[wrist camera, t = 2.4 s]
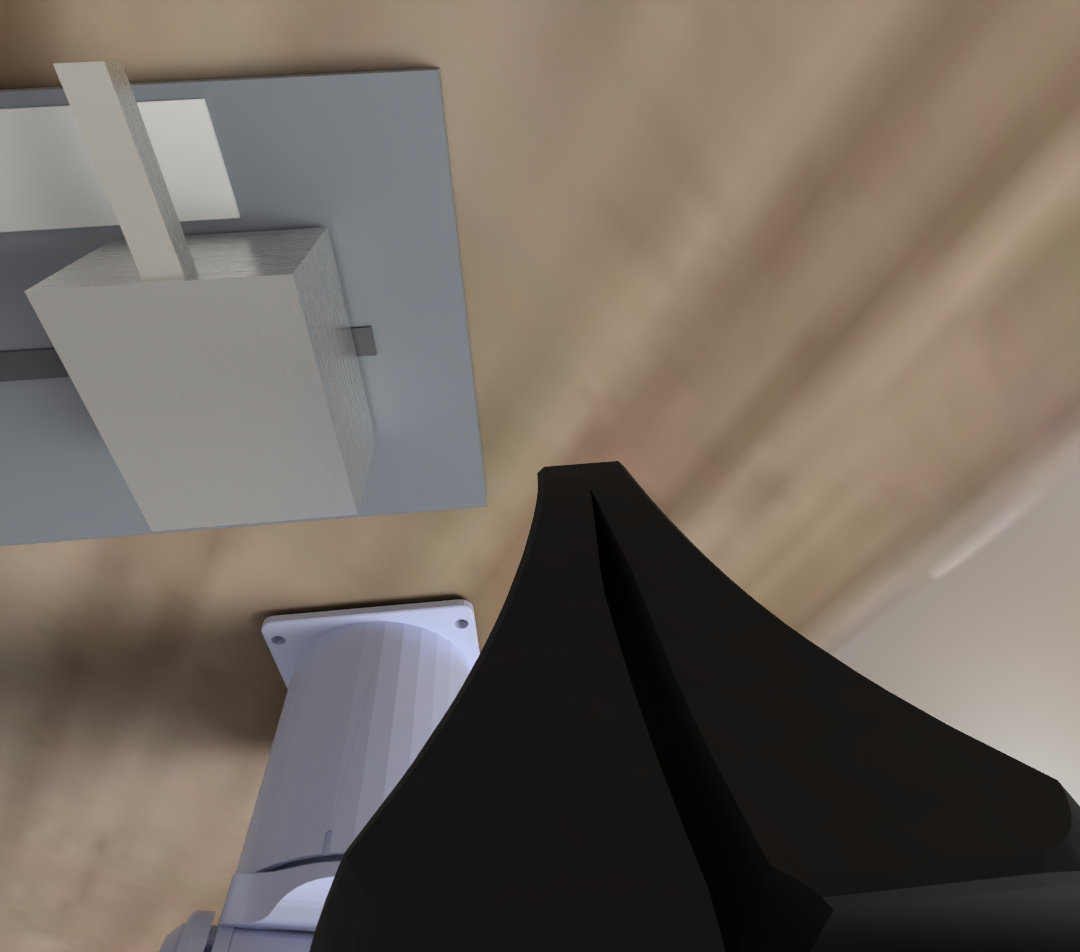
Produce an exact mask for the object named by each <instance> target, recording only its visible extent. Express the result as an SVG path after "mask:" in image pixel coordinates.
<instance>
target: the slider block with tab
mask: <svg viewBox="0 0 1080 952" xmlns="http://www.w3.org/2000/svg"><path fill="white" fill-rule="evenodd" d="M53 65H54V68H55V70H56V73H57V75H58V77H59V80H60V82H61V85H62V87H63V90H64V92H65V94H66V97H67V99H68V102H69V104H70V106H71V109H72V111H73V114H74V116H75V119H76V121H77V123H78V126H79V128H80V131H81V133H82V135H83V138H84V140H85V143H86V145H87V147H88V150H89V152H90V155H91V157H92V160H93V162H94V164H95V167H96V169H97V172H98V174H99V176H100V179H101V181H102V184H103V186H104V188H105V191H106V193H107V196H108V198H109V201H110V203H111V205H112V208H113V210H114V213H115V215H116V217H117V220H118V222H119V225H120V227H121V229H122V232H123V234H124V237H125V239H120V240H111V241H109V242H107V243H106V244H104V245H102V246H101V247H99V248H97V249H96V250H94V251H92V252H90V253H89V254H87V255H85V256H84V257H82V258H80V259H78V260H77V261H75V262H73V263H72V264H70V265H68V266H67V267H65V268H63V269H61V270H60V271H58V272H56V273H55V274H53V275H51V276H49V277H48V278H46V279H44V280H43V281H41V282H39V283H38V284H36V285H34V286H32V287H31V288H29V289H27V290H26V291H24V292H25V293H26V295H27V297H28V299H29V301H30V303H31V305H32V307H33V309H34V310H35V312H36V314H37V316H38V318H39V320H40V322H41V324H42V325H43V327H44V329H45V331H46V333H47V335H48V337H49V339H50V340H51V342H52V344H53V346H54V348H55V350H56V352H57V354H58V355H59V357H60V359H61V361H62V363H63V365H64V367H65V369H66V371H67V372H68V374H69V376H70V378H71V380H72V382H73V384H74V386H75V387H76V389H77V391H78V393H79V395H80V397H81V399H82V401H83V402H84V404H85V406H86V408H87V410H88V412H89V414H90V416H91V418H92V419H93V421H94V423H95V425H96V427H97V429H98V431H99V433H100V434H101V436H102V438H103V440H104V442H105V444H106V446H107V448H108V449H109V451H110V453H111V455H112V457H113V459H114V461H115V463H116V465H117V466H118V468H119V470H120V472H121V474H122V476H123V478H124V480H125V481H126V483H127V485H128V487H129V489H130V491H131V493H132V495H133V496H134V498H135V500H136V502H137V504H138V506H139V508H140V510H141V512H142V513H143V515H144V517H145V519H146V521H147V523H148V525H149V527H150V528H151V530H152V531H164V530H177V529H189V528H201V527H213V526H226V525H238V524H250V523H262V522H275V521H287V520H299V519H311V518H324V517H336V516H348V515H358V511H359V507H360V503H361V499H362V495H363V491H364V487H365V483H366V478H367V474H368V470H369V466H370V462H371V458H372V454H373V450H374V445H375V441H376V438H375V433H374V429H373V424H372V420H371V416H370V411H369V407H368V403H367V398H366V394H365V389H364V385H363V381H362V376H361V372H360V367H359V363H358V359H357V354H356V350H355V346H354V341H353V337H352V332H351V328H350V324H349V319H348V315H347V310H346V306H345V302H344V297H343V293H342V289H341V284H340V280H339V275H338V271H337V267H336V262H335V258H334V254H333V249H332V245H331V240H330V236H329V232H328V227H317V228H300V229H284V230H268V231H251V232H235V233H218V234H202V235H186V236H184V233H183V230H182V227H181V224H180V222H179V219H178V216H177V213H176V211H175V208H174V205H173V202H172V199H171V197H170V194H169V191H168V188H167V186H166V183H165V180H164V177H163V174H162V172H161V169H160V166H159V163H158V161H157V158H156V155H155V152H154V149H153V147H152V144H151V141H150V138H149V135H148V133H147V130H146V127H145V124H144V122H143V119H142V116H141V113H140V110H139V108H138V105H137V102H136V99H135V97H134V94H133V91H132V88H131V85H130V83H129V80H128V77H127V74H126V72H125V69H124V66H123V63H122V60H102V61H81V62H66V63H55V64H53Z"/></svg>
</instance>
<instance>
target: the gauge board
mask: <svg viewBox="0 0 1080 952" xmlns="http://www.w3.org/2000/svg"><path fill="white" fill-rule="evenodd" d="M130 85H131V88H132V91H133V94H134V97H135V99H136V102H137V105H138V108H139V110H140V113H141V116H142V119H143V122H144V124H145V127H146V130H147V133H148V135H149V138H150V141H151V144H152V147H153V149H154V152H155V155H156V158H157V161H158V163H159V166H160V169H161V172H162V174H163V177H164V180H165V183H166V186H167V188H168V191H169V194H170V197H171V199H172V202H173V205H174V208H175V211H176V213H177V216H178V219H179V222H180V224H181V227H182V230H183V233H184V236H186V235H202V234H218V233H235V232H251V231H268V230H284V229H300V228H317V227H328V232H329V236H330V240H331V245H332V249H333V254H334V258H335V262H336V267H337V271H338V275H339V280H340V284H341V289H342V293H343V297H344V302H345V306H346V310H347V315H348V319H349V324H350V328H351V332H352V337H353V341H354V346H355V350H356V354H357V359H358V363H359V367H360V372H361V376H362V381H363V385H364V389H365V394H366V398H367V403H368V407H369V411H370V416H371V420H372V424H373V429H374V433H375V438H376V441H375V445H374V450H373V454H372V458H371V462H370V466H369V470H368V474H367V478H366V483H365V487H364V491H363V495H362V499H361V503H360V507H359V511H358V515H348V516H336V517H324V518H311V519H299V520H287V521H275V522H262V523H250V524H238V525H226V526H213V527H201V528H189V529H177V530H164V531H152V530H151V528H150V527H149V525H148V523H147V521H146V519H145V517H144V515H143V513H142V512H141V510H140V508H139V506H138V504H137V502H136V500H135V498H134V496H133V495H132V493H131V491H130V489H129V487H128V485H127V483H126V481H125V480H124V478H123V476H122V474H121V472H120V470H119V468H118V466H117V465H116V463H115V461H114V459H113V457H112V455H111V453H110V451H109V449H108V448H107V446H106V444H105V442H104V440H103V438H102V436H101V434H100V433H99V431H98V429H97V427H96V425H95V423H94V421H93V419H92V418H91V416H90V414H89V412H88V410H87V408H86V406H85V404H84V402H83V401H82V399H81V397H80V395H79V393H78V391H77V389H76V387H75V386H74V384H73V382H72V380H71V378H70V376H69V374H68V372H67V371H66V369H65V367H64V365H63V363H62V361H61V359H60V357H59V355H58V354H57V352H56V350H55V348H54V346H53V344H52V342H51V340H50V339H49V337H48V335H47V333H46V331H45V329H44V327H43V325H42V324H41V322H40V320H39V318H38V316H37V314H36V312H35V310H34V309H33V307H32V305H31V303H30V301H29V299H28V297H27V295H26V293H25V292H24V291H26V290H27V289H29V288H31V287H32V286H34V285H36V284H38V283H39V282H41V281H43V280H44V279H46V278H48V277H49V276H51V275H53V274H55V273H56V272H58V271H60V270H61V269H63V268H65V267H67V266H68V265H70V264H72V263H73V262H75V261H77V260H78V259H80V258H82V257H84V256H85V255H87V254H89V253H90V252H92V251H94V250H96V249H97V248H99V247H101V246H102V245H104V244H106V243H107V242H109V241H111V240H120V239H125V237H124V234H123V232H122V229H121V227H120V225H119V222H118V220H117V217H116V215H115V213H114V210H113V208H112V205H111V203H110V201H109V198H108V196H107V193H106V191H105V188H104V186H103V184H102V181H101V179H100V176H99V174H98V172H97V169H96V167H95V164H94V162H93V160H92V157H91V155H90V152H89V150H88V147H87V145H86V143H85V140H84V138H83V135H82V133H81V131H80V128H79V126H78V123H77V121H76V119H75V116H74V114H73V111H72V109H71V106H70V104H69V102H68V99H67V97H66V94H65V92H64V90H63V87H62V86H60V87H40V88H20V89H0V546H9V545H22V544H34V543H46V542H58V541H71V540H83V539H95V538H107V537H120V536H132V535H144V534H156V533H169V532H181V531H193V530H205V529H218V528H230V527H242V526H254V525H267V524H279V523H291V522H303V521H316V520H328V519H340V518H352V517H365V516H377V515H389V514H401V513H413V512H426V511H438V510H450V509H462V508H475V507H487V494H486V480H485V471H484V462H483V454H482V445H481V436H480V427H479V418H478V409H477V400H476V391H475V382H474V373H473V364H472V355H471V346H470V337H469V328H468V319H467V310H466V301H465V292H464V283H463V274H462V265H461V256H460V247H459V238H458V229H457V220H456V211H455V202H454V193H453V184H452V175H451V166H450V157H449V148H448V139H447V130H446V121H445V112H444V103H443V94H442V85H441V76H440V67H438V68H418V69H398V70H378V71H358V72H338V73H318V74H299V75H279V76H259V77H239V78H219V79H199V80H179V81H159V82H139V83H130Z"/></svg>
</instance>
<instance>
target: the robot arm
mask: <svg viewBox="0 0 1080 952" xmlns="http://www.w3.org/2000/svg"><path fill="white" fill-rule="evenodd" d="M537 474H538V495H537V502H536V507H535V512H534V517H533V522H532V525H531V529H530V532H529V536H528V539H527V543H526V546H525V550H524V553H523V556H522V559H521V562H520V564H519V567H518V570H517V572H516V575H515V578H514V580H513V583H512V586H511V588H510V591H509V594H508V596H507V598H506V601H505V603H504V605H503V608H502V610H501V612H500V614H499V617H498V619H497V621H496V623H495V625H494V627H493V629H492V631H491V633H490V635H489V637H488V639H487V641H486V643H485V645H484V647H483V649H482V651H481V653H480V650H479V643H478V636H477V629H476V622H475V616H474V609H473V606H472V604H471V603H470V602H469V601H466V600H461V599H458V600H447V601H435V602H424V603H413V604H401V605H390V606H378V607H367V608H356V609H344V610H333V611H322V612H310V613H299V614H288V615H276V616H270V617H268V618H266V619H265V620H264V622H263V625H262V627H261V631H262V634H263V636H264V638H265V641H266V643H267V645H268V647H269V649H270V652H271V654H272V656H273V658H274V660H275V663H276V665H277V667H278V669H279V672H280V674H281V676H282V678H283V680H284V683H285V685H286V687H287V689H288V691H287V695H286V698H285V702H284V705H283V709H282V712H281V716H280V719H279V723H278V726H277V730H276V733H275V737H274V740H273V744H272V747H271V751H270V755H269V758H268V762H267V765H266V769H265V772H264V776H263V779H262V783H261V786H260V790H259V793H258V797H257V800H256V804H255V807H254V811H253V814H252V818H251V821H250V825H249V828H248V832H247V836H246V839H245V843H244V846H243V850H242V853H241V857H240V860H239V864H238V867H237V871H236V873H235V874H234V875H233V877H232V880H231V884H230V887H229V890H228V893H227V897H226V900H225V903H224V906H223V910H222V913H221V916H220V920H219V923H218V926H214V925H212V921H213V918H214V915H215V911H203V910H199V911H195V912H194V913H192V914H191V915H190V917H189V919H188V921H187V923H183V924H181V925H180V926H179V927H177V928H176V929H175V930H174V931H172V932H171V933H170V934H169V935H167V937H166V938H165V940H164V942H163V944H162V946H161V948H160V951H159V952H1080V806H1079V805H1078V804H1077V803H1076V802H1075V800H1074V799H1073V798H1072V797H1071V796H1070V794H1069V793H1068V792H1067V791H1066V790H1065V789H1064V788H1063V786H1062V785H1061V784H1060V783H1059V782H1058V781H1057V780H1056V779H1054V778H1052V777H1050V776H1048V775H1045V774H1044V773H1041V772H1040V771H1038V770H1036V769H1034V768H1031V767H1030V766H1028V765H1026V764H1024V763H1022V762H1020V761H1018V760H1016V759H1014V758H1012V757H1010V756H1008V755H1006V754H1004V753H1002V752H1000V751H998V750H996V749H994V748H992V747H990V746H988V745H986V744H984V743H982V742H980V741H978V740H976V739H974V738H972V737H970V736H968V735H966V734H964V733H962V732H960V731H958V730H956V729H954V728H952V727H951V726H949V725H947V724H945V723H943V722H941V721H940V720H938V719H936V718H934V717H933V716H931V715H929V714H927V713H925V712H924V711H922V710H920V709H918V708H917V707H915V706H913V705H911V704H910V703H908V702H906V701H904V700H903V699H901V698H899V697H897V696H896V695H894V694H892V693H890V692H888V691H887V690H885V689H884V688H882V687H880V686H879V685H877V684H875V683H874V682H872V681H870V680H869V679H867V678H866V677H864V676H862V675H861V674H859V673H857V672H856V671H854V670H853V669H851V668H850V667H848V666H847V665H845V664H844V663H842V662H841V661H839V660H838V659H836V658H835V657H833V656H832V655H830V654H829V653H827V652H826V651H824V650H823V649H821V648H820V647H818V646H816V645H815V644H813V643H812V642H810V641H809V640H807V639H806V638H805V637H803V636H802V635H800V634H799V633H798V632H796V631H795V630H793V629H792V628H791V627H789V626H788V625H786V624H785V623H784V622H782V621H781V620H780V619H779V618H777V617H776V616H775V615H773V614H772V613H771V612H769V611H768V610H767V609H766V608H764V607H763V606H762V605H760V604H759V603H758V602H757V601H755V600H754V599H753V598H752V597H751V596H749V595H748V594H747V593H746V592H745V591H743V590H742V589H741V588H740V587H739V586H738V585H737V584H735V583H734V582H733V581H732V580H731V579H730V578H729V577H727V576H726V575H725V574H724V573H723V572H722V571H721V570H720V569H719V568H718V567H717V566H715V565H714V564H713V563H712V562H711V561H710V560H709V559H708V558H707V557H706V556H705V555H704V554H703V553H702V552H701V551H700V550H699V549H698V548H697V547H695V546H694V545H693V543H692V542H691V541H690V540H689V539H688V538H687V537H686V536H685V535H684V534H683V533H682V532H681V531H680V530H679V529H678V528H677V527H676V526H675V525H674V524H673V523H672V522H671V521H670V520H669V519H668V517H667V516H666V515H665V514H664V513H663V512H662V511H661V510H660V509H659V508H658V506H657V505H656V504H655V503H654V502H653V501H652V500H651V498H650V497H649V496H648V495H647V494H646V493H645V491H644V490H643V489H642V488H641V487H640V486H639V484H638V483H637V482H636V481H635V479H634V478H633V477H632V476H631V475H630V473H629V472H628V471H627V470H626V468H625V467H624V466H623V465H622V464H621V463H620V462H618V461H614V462H601V463H588V464H575V465H563V466H550V467H544V468H543V469H541V470H540V471H539V472H538V473H537ZM460 619H463V620H464V621H459V620H460ZM279 636H281V637H279Z"/></svg>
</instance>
